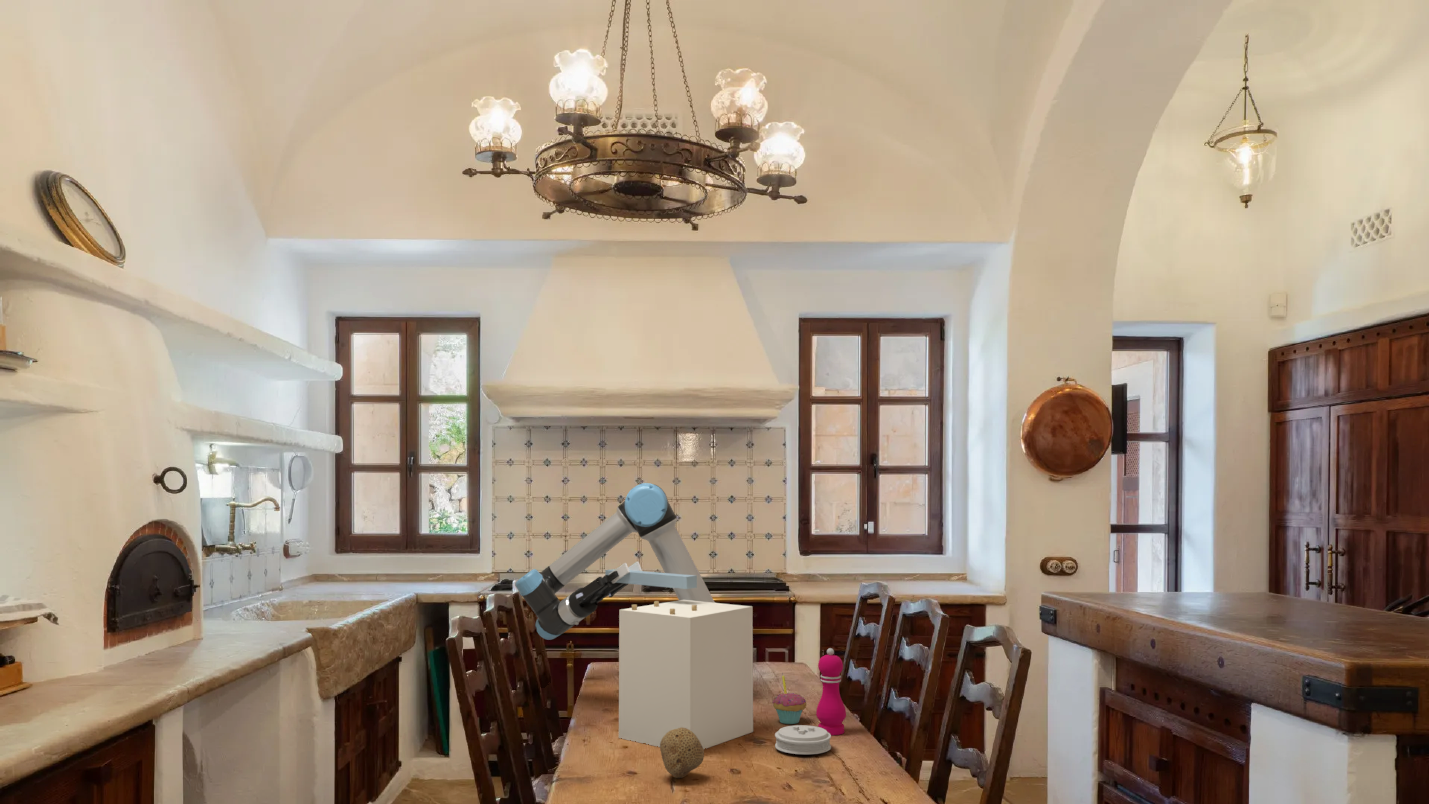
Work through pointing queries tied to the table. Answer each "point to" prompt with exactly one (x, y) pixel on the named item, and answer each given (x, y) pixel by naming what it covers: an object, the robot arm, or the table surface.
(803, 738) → the lid
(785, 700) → the cupcake
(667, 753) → the natural sponge
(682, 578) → the batten
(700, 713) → the plinth
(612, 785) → the table surface
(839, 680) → the pepper mill
